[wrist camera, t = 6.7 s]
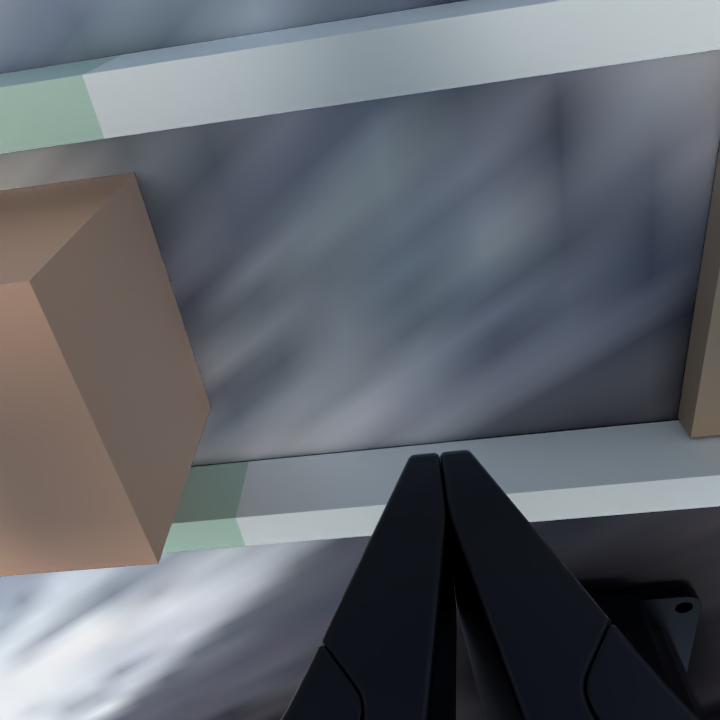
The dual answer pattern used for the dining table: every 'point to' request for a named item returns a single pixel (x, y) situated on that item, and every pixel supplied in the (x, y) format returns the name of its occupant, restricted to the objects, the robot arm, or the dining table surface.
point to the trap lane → (383, 80)
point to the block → (90, 381)
